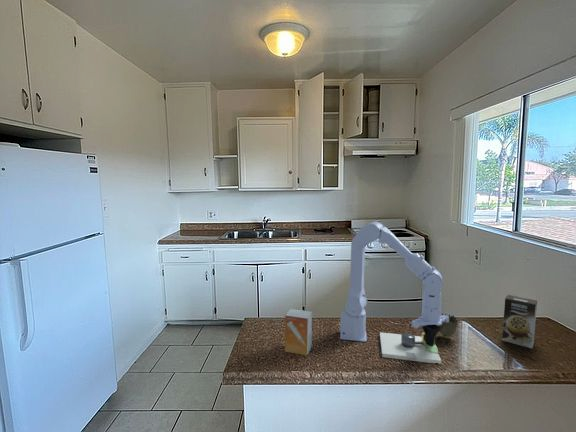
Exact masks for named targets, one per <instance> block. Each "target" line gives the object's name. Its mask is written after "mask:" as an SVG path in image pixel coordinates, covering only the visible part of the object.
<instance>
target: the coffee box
mask: <svg viewBox="0 0 576 432" xmlns="http://www.w3.org/2000/svg"><path fill="white" fill-rule="evenodd" d="M537 308H538V300H537V299H531V298H525V297H523V296H522V297H521V296H518V295H517V296H516V295H510V294H507V295H506V297H505V298H504V310H503V322H502V325H503V326H502V335H501V341H502V342H507V343H511V344H513V345H517V346H521V347H525V348H528V349H533V348H534V343H535V332H536V331H535V330H536V322H537V321H536V319H537Z"/></svg>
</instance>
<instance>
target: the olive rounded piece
mask: <svg viewBox="0 0 576 432" xmlns="http://www.w3.org/2000/svg"><path fill="white" fill-rule="evenodd" d="M441 315H446V316H448V317H449V322H442V325H439V326H440V330H439V331H438V333H440V335H439V336H440V337H441V338H442V339H444V340H450V339H452V336H453V335H454V334H455V333H456V331H457V327H458V321H459V319H457V317H456V316H455V315H450V314H447V313H445V314H444V313H442V314H441Z"/></svg>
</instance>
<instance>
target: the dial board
mask: <svg viewBox="0 0 576 432" xmlns="http://www.w3.org/2000/svg"><path fill="white" fill-rule="evenodd" d="M401 335H402V333H401V334H398V333H391V332H389V333H388V332H380V331H379V339H380V347H381V348H380V349H381V356H382V358H387V359H396V360H404V361H413V362H419V363H428V364H435V363H438V364H437V365H442V359H441V357H440V355H439V348H438V347H437V345H436V344H434V345H433V346H429V345H415V346H414V347H411V348H410V347H405V346H403V345H402V344H401ZM414 336H415V341H422V336H419V335H414Z"/></svg>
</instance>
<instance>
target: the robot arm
mask: <svg viewBox="0 0 576 432" xmlns="http://www.w3.org/2000/svg"><path fill="white" fill-rule="evenodd" d="M377 240H378V243H379V244H385V245H388V246H389V247H390V248H391V249H392V250H393V251H395V252H396V253H397V254H398V255H399V256H400V257H401V258H403V259H404V264H405V266H406V268H408V269H409V270H410V271H411V272H412V273H413V274H414V275H415V276H416V277H417V278H418V279H420V280H422V282H421V283H422V286H423V292H422V301H421V303H422V305H421V307H422V308H421V316H419V317H418V318H416V319H412V320H411V328H414V329H419V327H420V328H422V330H423V333H425V341H426V344H427V345H429V346H433V345H435V343H434V339H435V338H436V337H437V336H436V335H438V333H439V330H440V326H439V325H442V322H449V317H448V315H447V314H446V315H447V316H446V315H445V314H444V315H442V314H441V309H442V287H443V275H442V274H441V273H440V271H439V270H438V269H436V268H435V266H431V265H430V264H429V263H428V262H427V261H426V260H425V257H424V256H423V255H422V254H421V255H420V254H419V253H414V252H411V251H410V250H409V248H407V246H406V245H405V244H404V243H402V242H401V240H400V239H399V238H397V236H396V235H395V233H393V232H392V231H391V230H390V229H389V228H387V227H386V226H384V224H383V223H381V221H380V222H379V221H374V220H373V221H371V222H370V223H367V224H365V225H363V226H362V227H360V229H359V230H358V231H357V233H356V234H355V236H354V237H353V239H352V240H351V245H350V275H349V276H350V277H349V279H350V280H349V289H348V290H349V291H348V293H347V299H346V300H347V301H346V302H345V304H344V309H345V311H341V313H340V325H339V333H340V334H339V335H340V336H339V338H340V340H346V341H347V340H348V341H356V342H362V343H363V342H364V343H365V342H367V331H366V325H367V324H366V323H367V322H366V321H367V318H366V317H367V315H366V314H367V312H366V309H365V308H366V306H367V304H368V299H367V296H366V290H365V264H366V263H365V262H366V261H365V260H366V259H365V258H366V247H367V246H368V245H369V244H370V243H372V242H376V241H377ZM435 340H436V339H435Z"/></svg>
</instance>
